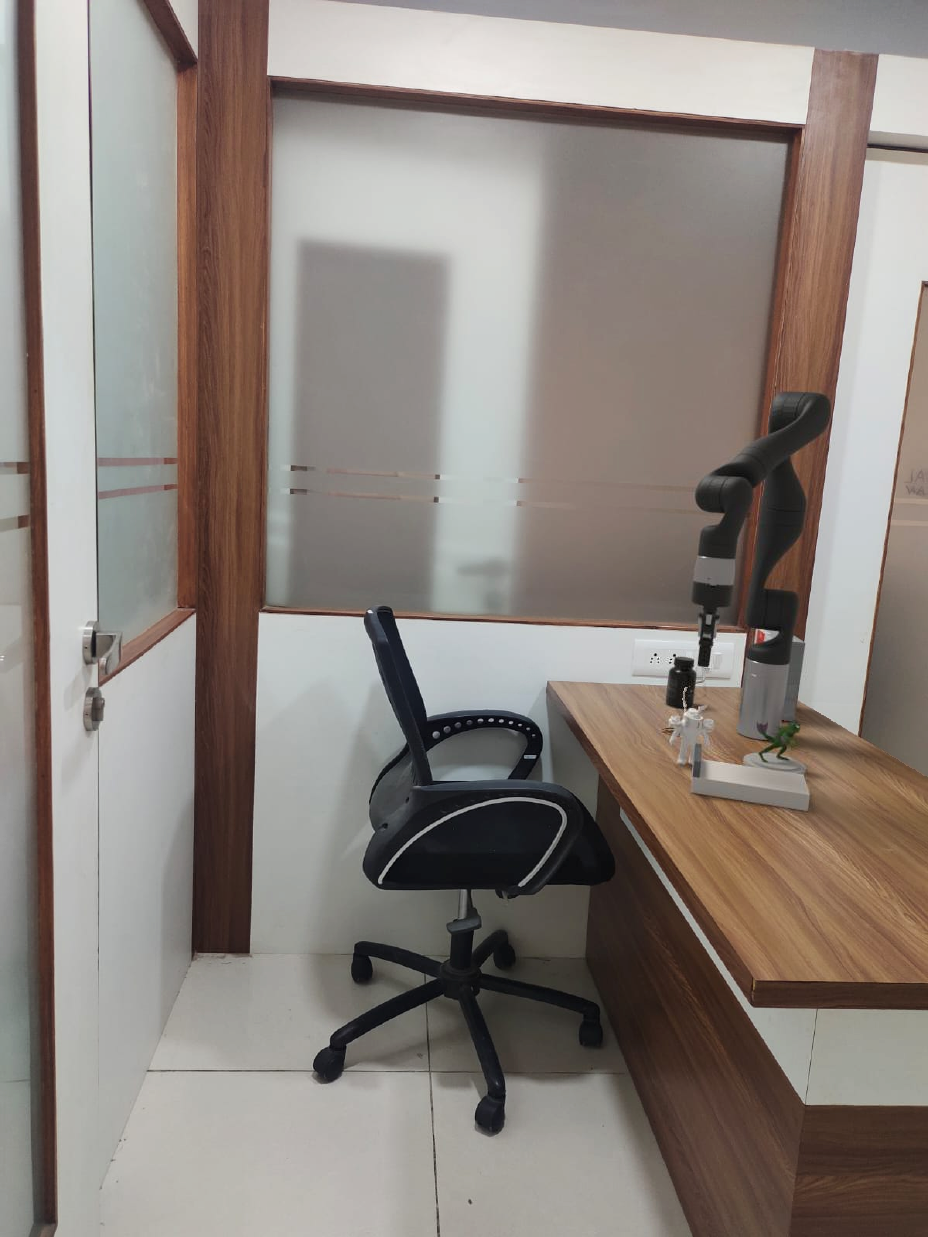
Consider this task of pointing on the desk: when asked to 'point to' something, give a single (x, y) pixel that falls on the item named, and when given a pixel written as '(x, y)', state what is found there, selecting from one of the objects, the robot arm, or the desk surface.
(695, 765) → the rail
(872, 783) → the desk surface
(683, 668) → the supplement bottle
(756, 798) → the shelf board
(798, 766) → the monster figurine
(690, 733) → the white toy figure
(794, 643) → the hard drive box
